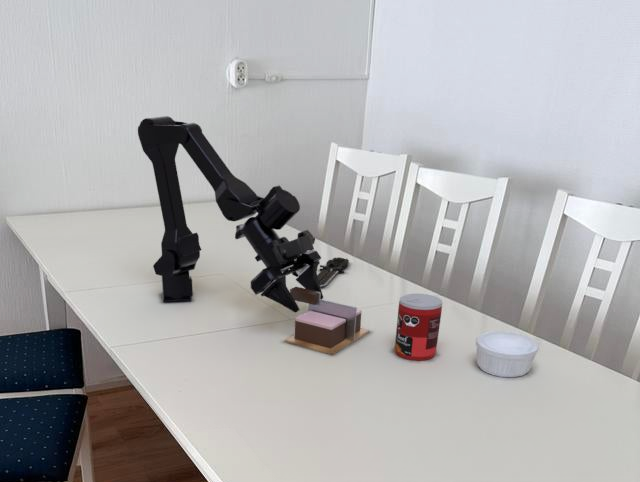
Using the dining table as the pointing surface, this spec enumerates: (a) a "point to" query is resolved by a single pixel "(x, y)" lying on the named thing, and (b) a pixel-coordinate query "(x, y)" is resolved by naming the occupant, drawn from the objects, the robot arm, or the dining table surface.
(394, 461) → the dining table surface
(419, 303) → the canned food
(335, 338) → the cake
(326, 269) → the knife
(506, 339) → the ramekin
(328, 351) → the cake board
